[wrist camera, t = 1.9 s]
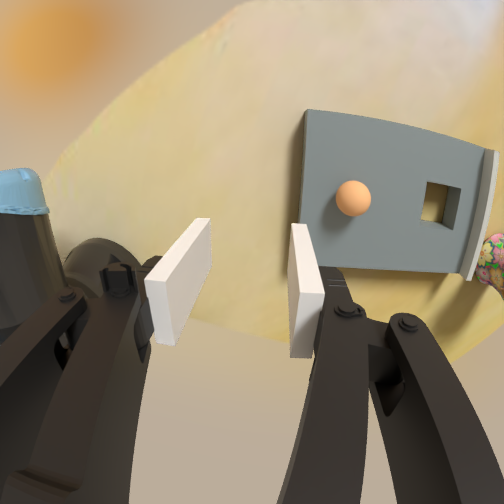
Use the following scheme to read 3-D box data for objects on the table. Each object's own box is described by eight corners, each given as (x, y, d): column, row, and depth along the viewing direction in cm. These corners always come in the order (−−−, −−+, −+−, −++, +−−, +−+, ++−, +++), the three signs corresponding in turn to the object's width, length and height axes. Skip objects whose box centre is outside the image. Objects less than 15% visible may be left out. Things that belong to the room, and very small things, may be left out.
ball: (331, 209, 29) (337, 219, 26) (334, 176, 28) (342, 182, 25) (362, 212, 29) (372, 222, 26) (367, 179, 28) (377, 186, 24)
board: (294, 253, 35) (296, 272, 30) (304, 111, 28) (309, 107, 24) (454, 264, 33) (471, 280, 29) (477, 147, 27) (499, 152, 22)
